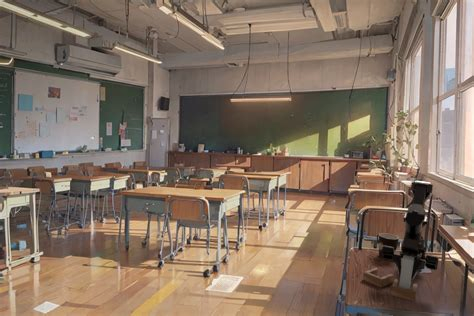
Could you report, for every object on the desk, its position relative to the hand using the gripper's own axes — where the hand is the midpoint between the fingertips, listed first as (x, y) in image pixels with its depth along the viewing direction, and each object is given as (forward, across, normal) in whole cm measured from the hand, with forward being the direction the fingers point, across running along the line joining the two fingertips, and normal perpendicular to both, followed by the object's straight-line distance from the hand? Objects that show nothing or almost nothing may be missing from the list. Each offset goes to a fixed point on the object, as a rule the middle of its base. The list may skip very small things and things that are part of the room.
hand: (405, 278), depth 137 cm
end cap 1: (0, -9, +10) cm, 14 cm away
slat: (+3, 0, +5) cm, 6 cm away
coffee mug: (-24, -11, +34) cm, 43 cm away
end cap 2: (+4, 0, +6) cm, 7 cm away
